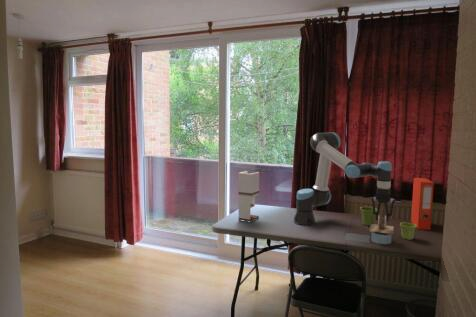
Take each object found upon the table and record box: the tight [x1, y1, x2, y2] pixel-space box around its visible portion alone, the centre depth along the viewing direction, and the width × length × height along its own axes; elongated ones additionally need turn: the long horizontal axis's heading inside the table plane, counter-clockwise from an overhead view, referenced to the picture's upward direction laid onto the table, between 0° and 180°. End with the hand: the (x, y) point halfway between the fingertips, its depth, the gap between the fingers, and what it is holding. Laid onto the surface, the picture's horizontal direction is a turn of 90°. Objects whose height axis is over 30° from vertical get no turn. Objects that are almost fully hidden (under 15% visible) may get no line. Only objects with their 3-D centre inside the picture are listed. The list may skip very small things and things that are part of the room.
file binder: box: [410, 177, 435, 231], centre depth 237 cm, size 8×17×32 cm, turn 167°
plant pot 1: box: [359, 206, 377, 227], centre depth 241 cm, size 12×12×11 cm
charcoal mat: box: [343, 232, 371, 244], centre depth 214 cm, size 14×14×1 cm
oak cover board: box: [368, 216, 395, 235], centre depth 207 cm, size 13×13×7 cm
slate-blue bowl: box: [370, 232, 393, 245], centre depth 208 cm, size 11×11×6 cm
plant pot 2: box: [399, 222, 417, 241], centre depth 214 cm, size 9×9×9 cm
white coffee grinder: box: [238, 170, 260, 223], centre depth 252 cm, size 11×11×35 cm
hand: (381, 226), depth 207 cm, fingers closed on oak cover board, 3 cm apart
